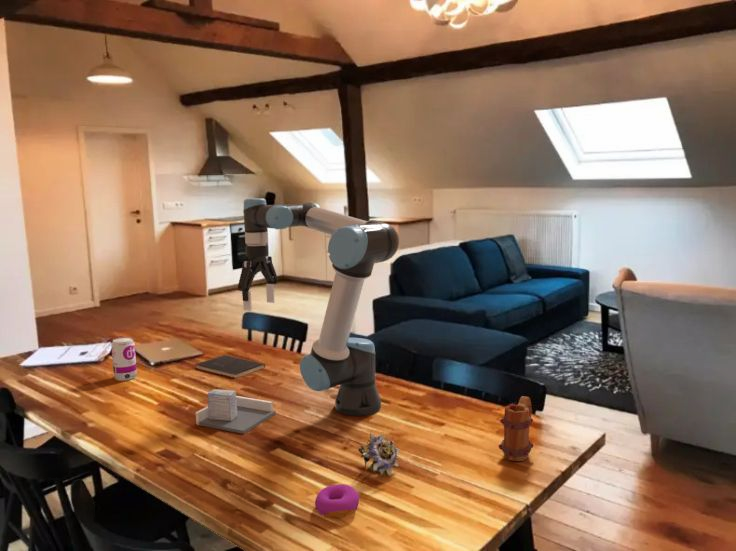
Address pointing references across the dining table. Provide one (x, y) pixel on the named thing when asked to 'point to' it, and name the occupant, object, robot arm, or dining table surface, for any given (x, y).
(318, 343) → the robot arm
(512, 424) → the mug
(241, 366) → the hardcover book
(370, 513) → the dining table surface
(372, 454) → the passion flower
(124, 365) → the supplement can
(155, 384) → the dining table surface
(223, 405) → the medicine box
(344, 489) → the donut
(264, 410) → the tray
